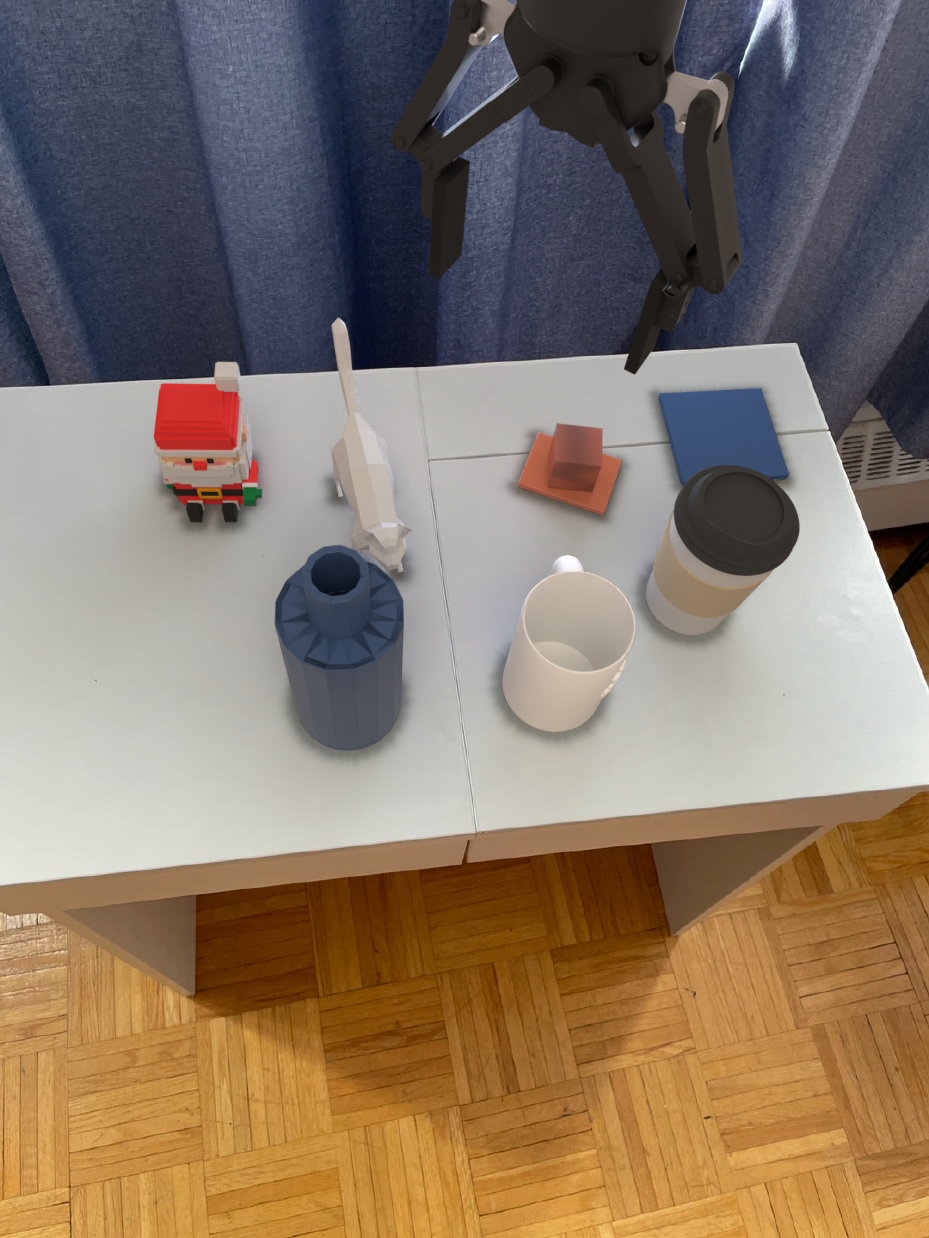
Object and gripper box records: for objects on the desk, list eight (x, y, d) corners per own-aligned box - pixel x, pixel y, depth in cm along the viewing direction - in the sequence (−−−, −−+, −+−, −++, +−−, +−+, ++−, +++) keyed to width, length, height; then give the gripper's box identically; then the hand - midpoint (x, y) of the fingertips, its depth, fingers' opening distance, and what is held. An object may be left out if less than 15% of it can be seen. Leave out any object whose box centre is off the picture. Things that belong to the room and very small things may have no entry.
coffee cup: (661, 534, 82) (715, 429, 68) (755, 584, 80) (829, 487, 67) (615, 612, 78) (662, 517, 65) (712, 666, 76) (781, 581, 63)
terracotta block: (593, 455, 84) (602, 427, 80) (592, 492, 82) (602, 466, 79) (549, 450, 84) (556, 422, 80) (547, 487, 82) (554, 461, 79)
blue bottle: (415, 674, 74) (424, 540, 55) (377, 765, 71) (374, 656, 52) (322, 640, 75) (300, 497, 56) (280, 729, 72) (241, 608, 53)
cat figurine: (365, 626, 76) (360, 538, 63) (319, 428, 84) (307, 315, 71) (419, 615, 77) (425, 526, 64) (368, 421, 85) (365, 307, 72)
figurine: (162, 522, 78) (127, 436, 68) (170, 453, 82) (137, 359, 71) (265, 523, 79) (247, 437, 68) (269, 454, 82) (252, 361, 71)
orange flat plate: (621, 463, 85) (622, 459, 84) (603, 516, 82) (604, 512, 82) (537, 435, 85) (538, 431, 85) (517, 486, 83) (517, 483, 82)
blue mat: (759, 391, 89) (761, 387, 89) (787, 479, 85) (789, 475, 85) (658, 397, 88) (660, 393, 88) (681, 485, 84) (683, 482, 84)
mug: (601, 600, 78) (635, 525, 68) (605, 736, 73) (643, 678, 62) (503, 593, 78) (522, 517, 67) (500, 729, 73) (520, 670, 62)
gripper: (313, -151, 39) (335, 261, 58) (869, 69, 35) (699, 441, 53) (409, -210, 43) (401, 197, 61) (929, -17, 38) (749, 361, 56)
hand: (539, 311), depth 57 cm, fingers open, 13 cm apart
